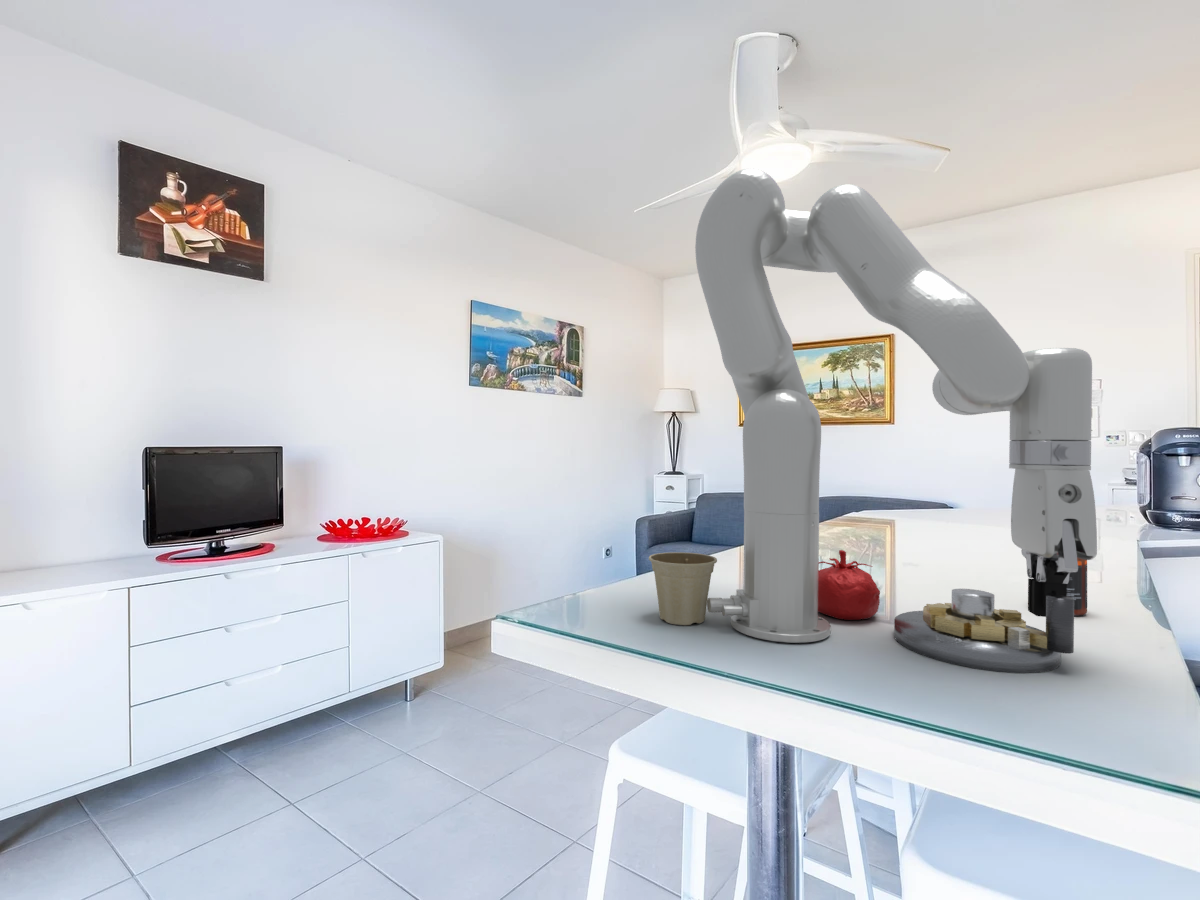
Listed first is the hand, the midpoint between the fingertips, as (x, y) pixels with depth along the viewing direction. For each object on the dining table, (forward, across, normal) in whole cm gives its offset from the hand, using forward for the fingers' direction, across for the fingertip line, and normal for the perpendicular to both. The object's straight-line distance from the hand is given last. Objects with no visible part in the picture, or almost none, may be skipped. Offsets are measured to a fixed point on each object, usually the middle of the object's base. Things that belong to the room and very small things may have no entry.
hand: (1046, 614), depth 68 cm
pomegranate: (+5, +12, +20) cm, 24 cm away
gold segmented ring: (+3, 0, +5) cm, 6 cm away
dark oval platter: (+5, +2, +7) cm, 9 cm away
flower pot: (+5, +3, +42) cm, 43 cm away
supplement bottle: (+5, +24, -12) cm, 27 cm away
